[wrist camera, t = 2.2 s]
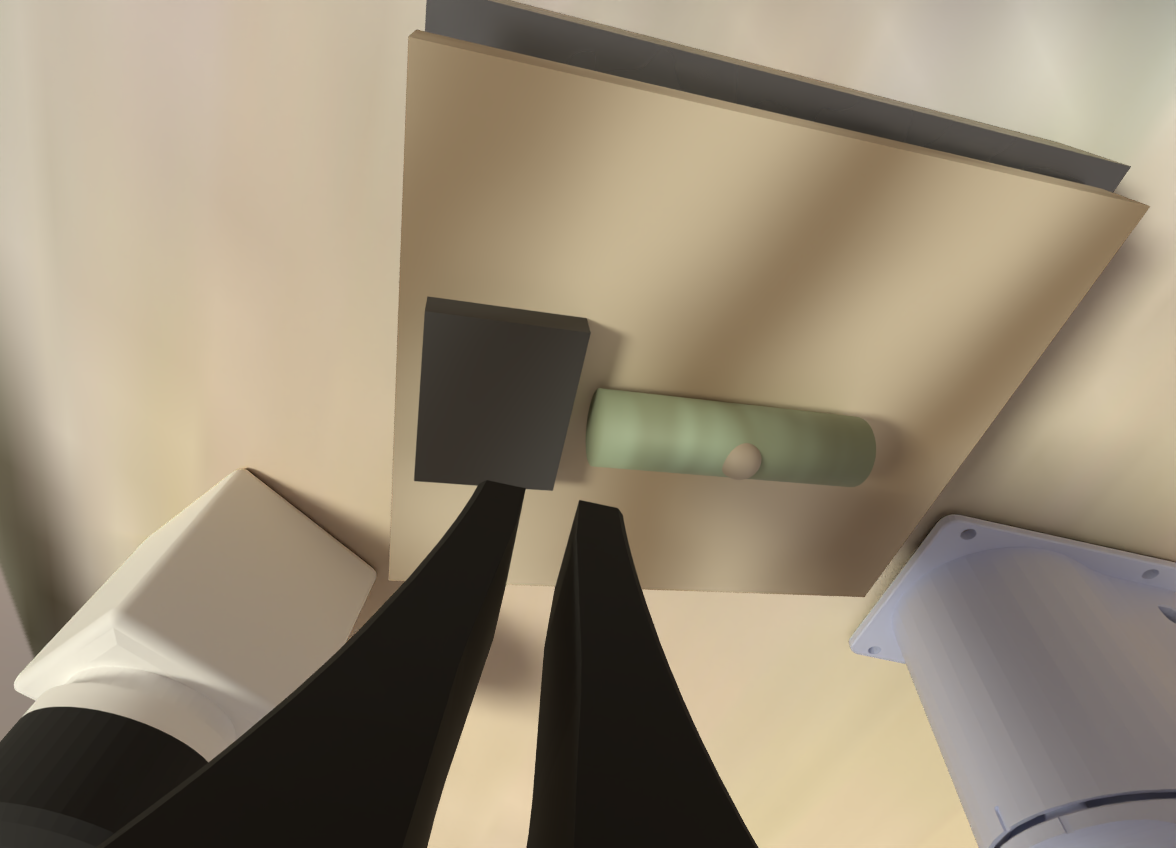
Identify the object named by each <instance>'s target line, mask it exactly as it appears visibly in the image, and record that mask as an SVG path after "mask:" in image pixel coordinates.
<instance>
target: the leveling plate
mask: <svg viewBox="0 0 1176 848" xmlns="http://www.w3.org/2000/svg"><path fill="white" fill-rule="evenodd" d="M1149 207H1150V206H1148V205H1145V204H1142V203H1140V202H1137V201H1134V200H1131V199H1129V198H1126V197H1123V196H1121V195H1118V194H1115V193H1112V192H1110V191H1107V190H1104V189H1101V188H1097V187H1093V186H1088V185H1084V184H1080V183H1076V182H1071V181H1067V180H1063V179H1058V178H1054V177H1050V176H1045V175H1041V174H1037V173H1032V172H1028V171H1024V170H1020V169H1015V168H1011V167H1007V166H1002V165H998V164H994V163H989V162H985V161H981V160H976V159H972V158H968V157H963V156H959V155H955V154H951V153H946V152H942V151H938V150H933V149H929V148H925V147H920V146H916V145H912V144H907V143H903V142H899V141H894V140H890V139H886V138H882V137H877V136H873V135H869V134H864V133H860V132H856V131H851V130H847V129H843V128H838V127H834V126H830V125H826V124H821V123H817V122H813V121H808V120H804V119H800V118H795V117H791V116H787V115H782V114H778V113H774V112H769V111H765V110H761V109H757V108H752V107H748V106H744V105H739V104H735V103H731V102H726V101H722V100H718V99H713V98H709V97H705V96H700V95H696V94H692V93H688V92H683V91H679V90H675V89H670V88H666V87H662V86H657V85H653V84H649V83H644V82H640V81H636V80H632V79H627V78H623V77H619V76H614V75H610V74H606V73H601V72H597V71H593V70H588V69H584V68H580V67H575V66H571V65H567V64H563V63H558V62H554V61H550V60H545V59H541V58H537V57H532V56H528V55H524V54H519V53H515V52H511V51H507V50H502V49H498V48H494V47H489V46H485V45H481V44H476V43H472V42H468V41H463V40H459V39H455V38H450V37H446V36H442V35H438V34H433V33H429V32H425V31H420V30H415V31H414V32H413V33H412V34H411V35H410V36H409V37H408V62H407V89H406V116H405V144H404V171H403V198H402V226H401V253H400V281H399V308H398V335H397V363H396V390H395V417H394V445H393V472H392V499H391V527H390V554H389V581H406V580H407V579H408V578H409V577H410V575H411V574H412V573H413V572H414V571H415V569H416V568H417V567H418V566H419V565H420V563H421V562H422V561H423V560H424V559H425V558H426V556H427V555H428V554H429V553H430V552H431V550H432V549H433V548H434V547H435V546H436V545H437V543H438V542H439V541H440V540H441V538H442V537H443V536H444V534H445V533H446V532H447V530H448V529H449V528H450V527H451V525H452V524H453V523H454V521H455V520H456V518H457V517H458V516H459V514H460V513H461V511H462V510H463V509H464V507H465V506H466V504H467V503H468V501H469V499H470V498H471V496H472V495H473V493H474V491H475V489H476V488H477V486H478V484H480V483H482V482H484V481H486V480H489V481H494V482H499V483H503V484H508V485H513V486H517V487H522V488H526V490H525V495H524V500H523V505H522V510H521V515H520V520H519V524H518V529H517V534H516V539H515V544H514V549H513V554H512V558H511V563H510V568H509V573H508V578H507V582H506V585H531V586H556V582H557V578H558V575H559V571H560V567H561V564H562V560H563V557H564V553H565V549H566V546H567V542H568V539H569V535H570V531H571V528H572V524H573V520H574V517H575V513H576V510H577V506H578V502H579V500H583V501H587V502H592V503H597V504H602V505H606V506H611V507H616V508H618V509H619V510H620V512H621V513H622V514H623V518H624V524H625V529H626V534H627V538H628V542H629V546H630V550H631V554H632V558H633V562H634V565H635V569H636V572H637V575H638V579H639V582H640V586H641V589H648V590H677V591H706V592H735V593H764V594H793V595H822V596H852V597H865V595H866V594H867V593H868V591H869V590H870V589H871V587H872V586H873V585H874V583H875V582H876V580H877V579H878V578H879V576H880V575H881V574H882V572H883V571H884V570H885V568H886V567H887V565H888V564H889V563H890V561H891V560H892V559H893V557H894V556H895V554H896V553H897V552H898V550H899V549H900V548H901V546H902V545H903V544H904V542H905V541H906V539H907V538H908V537H909V535H910V534H911V533H912V531H913V530H914V528H915V527H916V526H917V524H918V523H919V522H920V520H921V519H922V518H923V516H924V515H925V513H926V512H927V511H928V509H929V508H930V507H931V505H932V504H933V503H934V501H935V500H936V498H937V497H938V496H939V494H940V493H941V492H942V490H943V489H944V487H945V486H946V485H947V483H948V482H949V481H950V479H951V478H952V477H953V475H954V474H955V472H956V471H957V470H958V468H959V467H960V466H961V464H962V463H963V462H964V460H965V459H966V457H967V456H968V455H969V453H970V452H971V451H972V449H973V448H974V446H975V445H976V444H977V442H978V441H979V440H980V438H981V437H982V436H983V434H984V433H985V431H986V430H987V429H988V427H989V426H990V425H991V423H992V422H993V420H994V419H995V418H996V416H997V415H998V414H999V412H1000V411H1001V410H1002V408H1003V407H1004V405H1005V404H1006V403H1007V401H1008V400H1009V399H1010V397H1011V396H1012V395H1013V393H1014V392H1015V390H1016V389H1017V388H1018V386H1019V385H1020V384H1021V382H1022V381H1023V379H1024V378H1025V377H1026V375H1027V374H1028V373H1029V371H1030V370H1031V369H1032V367H1033V366H1034V364H1035V363H1036V362H1037V360H1038V359H1039V358H1040V356H1041V355H1042V353H1043V352H1044V351H1045V349H1046V348H1047V347H1048V345H1049V344H1050V343H1051V341H1052V340H1053V338H1054V337H1055V336H1056V334H1057V333H1058V332H1059V330H1060V329H1061V328H1062V326H1063V325H1064V323H1065V322H1066V321H1067V319H1068V318H1069V317H1070V315H1071V314H1072V312H1073V311H1074V310H1075V308H1076V307H1077V306H1078V304H1079V303H1080V302H1081V300H1082V299H1083V297H1084V296H1085V295H1086V293H1087V292H1088V291H1089V289H1090V288H1091V287H1092V285H1093V284H1094V282H1095V281H1096V280H1097V278H1098V277H1099V276H1100V274H1101V273H1102V271H1103V270H1104V269H1105V267H1106V266H1107V265H1108V263H1109V262H1110V261H1111V259H1112V258H1113V256H1114V255H1115V254H1116V252H1117V251H1118V250H1119V248H1120V247H1121V245H1122V244H1123V243H1124V241H1125V240H1126V239H1127V237H1128V236H1129V235H1130V233H1131V232H1132V230H1133V229H1134V228H1135V226H1136V225H1137V224H1138V222H1139V221H1140V220H1141V218H1142V217H1143V215H1144V214H1145V213H1146V211H1147V210H1148V209H1149Z"/></svg>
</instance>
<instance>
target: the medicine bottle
mask: <svg viewBox="0 0 1176 848" xmlns="http://www.w3.org/2000/svg"><path fill="white" fill-rule="evenodd" d="M375 579H376V571H375V570H374V569H373V568H372V567H371V566H370V565H368V564H367V563H366V562H364V561H363V560H362V559H361V558H359V557H358V556H357V555H355V554H354V553H353V552H352V551H350V550H349V549H348V548H346V547H345V546H344V545H343V544H341V543H340V542H339V541H338V540H336V539H335V538H334V537H332V536H331V535H330V534H329V533H327V532H326V531H325V530H323V529H322V528H321V527H320V526H318V525H317V524H316V523H314V522H313V521H312V520H311V519H309V518H308V517H307V516H306V515H304V514H303V513H302V512H300V511H299V510H298V509H297V508H295V507H294V506H293V505H291V504H290V503H289V502H288V501H286V500H285V499H284V498H282V497H281V496H280V495H279V494H277V493H276V492H275V491H273V490H272V489H271V488H270V487H268V486H267V485H266V484H265V483H263V482H262V481H261V480H259V479H258V478H257V477H256V476H254V475H253V474H252V473H250V472H249V471H248V470H246V469H237V470H235V471H233V472H232V473H231V474H229V475H228V476H227V477H225V478H224V479H223V480H221V481H220V482H219V483H218V484H216V485H215V486H214V487H212V488H211V489H210V490H208V491H207V492H206V493H205V494H203V495H202V496H201V497H199V498H198V499H197V500H195V501H194V502H193V503H192V504H190V505H189V506H188V507H186V508H185V509H184V510H183V511H181V512H180V513H179V514H177V515H176V516H175V517H173V518H172V519H171V520H170V521H168V522H167V523H166V524H164V525H163V526H162V527H160V528H159V529H158V530H157V531H155V532H154V533H153V534H151V535H150V536H149V537H147V538H146V539H145V540H144V542H143V543H142V544H141V545H140V546H139V547H138V548H137V549H136V550H135V551H134V552H133V553H132V554H131V555H130V557H129V558H128V559H127V560H126V561H125V562H124V563H123V564H122V565H121V566H120V567H119V568H118V569H117V570H116V571H115V573H114V574H113V575H112V576H111V577H110V578H109V579H108V580H107V581H106V582H105V583H104V584H103V585H102V586H101V587H100V589H99V590H98V591H97V592H96V593H95V594H94V595H93V596H92V597H91V598H90V599H89V600H88V601H87V602H86V604H85V605H84V606H83V607H82V608H81V609H80V610H79V611H78V612H77V613H76V614H75V615H74V616H73V617H72V618H71V620H70V621H69V622H68V623H67V624H66V625H65V626H64V627H63V628H62V629H61V630H60V631H59V632H58V633H57V634H56V636H55V637H54V638H53V639H52V640H51V641H50V642H49V643H48V644H47V645H46V646H45V647H44V648H43V649H42V651H41V652H40V653H39V654H38V655H37V656H36V657H35V658H34V659H33V660H32V661H31V663H29V664H28V665H27V667H26V668H25V669H24V670H23V671H22V672H21V673H20V674H19V675H18V676H17V678H16V680H15V682H14V687H15V690H16V691H18V692H19V693H22V694H23V695H25V696H27V697H29V698H31V699H33V700H35V701H36V702H35V703H34V704H33V705H32V706H31V707H30V709H28V711H27V712H26V713H25V714H24V715H23V716H22V717H21V719H20V720H19V721H18V722H17V723H16V724H15V725H14V727H13V728H12V729H11V730H10V731H9V732H8V734H7V735H6V736H5V737H4V738H3V739H2V740H1V742H0V848H95V847H97V846H98V845H100V844H101V843H102V842H104V841H105V840H106V839H108V838H109V837H110V836H112V835H113V834H114V833H116V832H117V831H118V830H120V829H121V828H122V827H124V826H125V825H126V824H128V823H129V822H130V821H132V820H133V819H134V818H136V817H137V816H138V815H140V814H141V813H142V812H144V811H145V810H146V809H148V808H149V807H150V806H152V805H153V804H154V803H156V802H157V801H158V800H160V799H161V798H162V797H164V796H165V795H166V794H168V793H169V792H170V791H172V790H173V789H174V788H176V787H177V786H178V785H180V784H181V783H182V782H184V781H185V780H186V779H187V778H189V777H190V776H191V775H193V774H194V773H195V772H197V771H198V770H199V769H201V768H202V767H203V766H204V765H206V764H207V763H208V762H210V761H211V760H212V759H213V758H215V757H216V756H217V755H218V754H220V753H221V752H222V751H223V750H225V749H226V748H227V747H228V746H229V745H231V744H232V743H233V742H234V741H236V740H237V739H238V738H239V737H241V736H242V735H243V734H244V733H245V732H246V731H248V730H249V729H250V728H251V727H252V726H254V725H255V724H256V723H257V722H258V721H259V720H261V719H262V718H263V717H264V716H265V715H267V714H268V713H269V712H270V711H271V710H272V709H274V708H275V707H276V706H277V705H278V704H280V703H281V702H282V701H283V700H284V699H285V698H287V697H288V696H289V695H290V694H291V693H292V692H294V691H295V690H296V689H297V688H298V687H299V686H300V685H301V684H302V683H304V682H305V681H306V680H307V679H308V678H309V677H310V676H311V675H312V674H313V673H315V672H316V671H317V670H318V669H319V668H320V667H321V666H322V665H323V664H324V663H325V662H327V661H328V660H329V659H330V658H331V657H332V656H333V655H334V654H335V653H336V652H337V651H338V650H339V649H340V648H341V647H342V646H343V645H344V644H345V643H346V641H347V639H348V637H349V635H350V633H351V630H352V628H353V626H354V624H355V622H356V620H357V618H358V616H359V613H360V611H361V609H362V607H363V605H364V603H365V601H366V599H367V596H368V594H369V592H370V590H371V588H372V586H373V584H374V582H375Z"/></svg>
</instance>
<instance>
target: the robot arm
mask: <svg viewBox="0 0 1176 848" xmlns="http://www.w3.org/2000/svg"><path fill="white" fill-rule="evenodd" d="M525 490H526V488H522V487H517V486H513V485H508V484H503V483H499V482H494V481H489V480H486V481H484V482H482V483H480V484H478V486H477V488H476V489H475V491H474V493H473V495H472V496H471V498H470V499H469V501H468V503H467V504H466V506H465V507H464V509H463V510H462V511H461V513H460V514H459V516H458V517H457V518H456V520H455V521H454V523H453V524H452V525H451V527H450V528H449V529H448V530H447V532H446V533H445V534H444V536H443V537H442V538H441V540H440V541H439V542H438V543H437V545H436V546H435V547H434V548H433V549H432V550H431V552H430V553H429V554H428V555H427V556H426V558H425V559H424V560H423V561H422V562H421V563H420V565H419V566H418V567H417V568H416V569H415V571H414V572H413V573H412V574H411V575H410V577H409V578H408V579H407V580H406V581H405V582H404V583H403V584H402V585H401V587H400V588H399V589H398V590H397V591H396V592H395V593H394V594H393V595H392V596H391V597H390V598H389V599H388V600H387V601H386V602H385V603H384V605H383V606H382V607H381V608H380V609H379V610H378V611H377V612H376V613H375V614H374V615H373V616H372V617H371V618H370V619H369V620H368V621H367V622H366V623H365V624H364V626H363V627H362V628H361V629H360V630H359V631H358V632H357V633H356V634H355V635H354V636H353V637H352V638H351V639H349V640H348V641H347V642H346V643H345V644H344V645H343V646H342V647H341V648H340V649H339V650H338V651H337V652H336V653H335V654H334V655H333V656H332V657H331V658H330V659H329V660H328V661H327V662H325V663H324V664H323V665H322V666H321V667H320V668H319V669H318V670H317V671H316V672H315V673H313V674H312V675H311V676H310V677H309V678H308V679H307V680H306V681H305V682H304V683H302V684H301V685H300V686H299V687H298V688H297V689H296V690H295V691H294V692H292V693H291V694H290V695H289V696H288V697H287V698H285V699H284V700H283V701H282V702H281V703H280V704H278V705H277V706H276V707H275V708H274V709H272V710H271V711H270V712H269V713H268V714H267V715H265V716H264V717H263V718H262V719H261V720H259V721H258V722H257V723H256V724H255V725H254V726H252V727H251V728H250V729H249V730H248V731H246V732H245V733H244V734H243V735H242V736H241V737H239V738H238V739H237V740H236V741H234V742H233V743H232V744H231V745H229V746H228V747H227V748H226V749H225V750H223V751H222V752H221V753H220V754H218V755H217V756H216V757H215V758H213V759H212V760H211V761H210V762H208V763H207V764H206V765H204V766H203V767H202V768H201V769H199V770H198V771H197V772H195V773H194V774H193V775H191V776H190V777H189V778H187V779H186V780H185V781H184V782H182V783H181V784H180V785H178V786H177V787H176V788H174V789H173V790H172V791H170V792H169V793H168V794H166V795H165V796H164V797H162V798H161V799H160V800H158V801H157V802H156V803H154V804H153V805H152V806H150V807H149V808H148V809H146V810H145V811H144V812H142V813H141V814H140V815H138V816H137V817H136V818H134V819H133V820H132V821H130V822H129V823H128V824H126V825H125V826H124V827H122V828H121V829H120V830H118V831H117V832H116V833H114V834H113V835H112V836H110V837H109V838H108V839H106V840H105V841H104V842H102V843H101V844H100V845H98V846H97V847H95V848H427V846H428V842H429V838H430V834H431V830H432V826H433V822H434V818H435V814H436V811H437V807H438V804H439V801H440V797H441V794H442V791H443V787H444V784H445V781H446V778H447V775H448V772H449V769H450V766H451V763H452V760H453V757H454V754H455V751H456V748H457V745H458V742H459V739H460V736H461V733H462V730H463V727H464V724H465V721H466V718H467V715H468V712H469V709H470V706H471V703H472V700H473V697H474V694H475V692H476V689H477V686H478V683H479V680H480V677H481V674H482V671H483V668H484V665H485V662H486V659H487V656H488V653H489V650H490V647H491V644H492V641H493V638H494V633H495V629H496V625H497V621H498V616H499V612H500V608H501V604H502V599H503V595H504V591H505V586H506V582H507V578H508V573H509V568H510V563H511V558H512V554H513V549H514V544H515V539H516V534H517V529H518V524H519V520H520V515H521V510H522V505H523V500H524V495H525ZM967 529H969V530H968V531H965V532H963V531H964V530H967ZM849 645H850V648H851V650H852V651H853V652H854V653H856V654H860V655H865V656H870V657H875V658H879V659H884V660H889V661H894V662H899V663H904V664H906V665H907V668H908V670H909V673H910V675H911V678H912V680H913V683H914V685H915V688H916V690H917V693H918V695H919V698H920V701H921V703H922V706H923V708H924V711H925V713H926V716H927V718H928V721H929V723H930V726H931V728H932V731H933V733H934V736H935V738H936V741H937V744H938V746H939V749H940V751H941V754H942V756H943V759H944V761H945V764H946V766H947V769H948V771H949V774H950V776H951V779H952V781H953V784H954V786H955V789H956V792H957V794H958V797H959V799H960V802H961V804H962V807H963V809H964V812H965V814H966V817H967V819H968V822H969V824H970V827H971V829H972V832H973V835H974V837H975V840H976V842H977V845H978V847H979V848H1176V562H1171V561H1166V560H1162V559H1157V558H1153V557H1148V556H1144V555H1139V554H1135V553H1130V552H1126V551H1121V550H1117V549H1112V548H1107V547H1103V546H1098V545H1094V544H1089V543H1085V542H1080V541H1076V540H1071V539H1067V538H1062V537H1058V536H1053V535H1049V534H1044V533H1039V532H1035V531H1030V530H1026V529H1021V528H1017V527H1012V526H1008V525H1003V524H999V523H994V522H990V521H985V520H980V519H976V518H971V517H967V516H962V515H955V514H952V515H947V516H945V517H943V518H941V519H940V520H939V521H938V522H937V524H936V525H935V526H934V528H933V529H932V530H931V532H930V533H929V534H928V536H927V537H926V538H925V540H924V541H923V542H922V544H921V545H920V546H919V548H918V549H917V550H916V551H915V553H914V554H913V555H912V557H911V558H910V559H909V561H908V562H907V563H906V565H905V566H904V567H903V569H902V570H901V571H900V573H899V574H898V575H897V577H896V578H895V579H894V581H893V582H892V583H891V585H890V586H889V587H888V589H887V590H886V591H885V592H884V594H883V595H882V596H881V598H880V599H879V600H878V602H877V603H876V604H875V606H874V607H873V608H872V610H871V611H870V612H869V614H868V615H867V616H866V618H865V619H864V620H863V622H862V623H861V624H860V626H859V627H858V628H857V630H856V631H855V632H854V634H853V635H852V636H851V637H850V639H849ZM527 848H758V846H757V844H756V843H755V841H754V839H753V838H752V836H751V834H750V832H749V831H748V829H747V827H746V825H745V823H744V822H743V820H742V818H741V816H740V814H739V812H738V810H737V808H736V806H735V805H734V803H733V801H732V799H731V797H730V795H729V793H728V791H727V790H726V788H725V786H724V784H723V782H722V780H721V778H720V776H719V774H718V772H717V770H716V768H715V766H714V764H713V762H712V760H711V758H710V756H709V754H708V752H707V750H706V748H705V746H704V744H703V742H702V740H701V738H700V736H699V733H698V731H697V729H696V727H695V725H694V723H693V720H692V718H691V716H690V714H689V711H688V709H687V707H686V705H685V702H684V700H683V698H682V695H681V693H680V691H679V688H678V686H677V683H676V681H675V679H674V676H673V674H672V672H671V669H670V667H669V664H668V662H667V659H666V657H665V654H664V651H663V649H662V646H661V644H660V641H659V638H658V635H657V632H656V630H655V627H654V624H653V621H652V618H651V615H650V613H649V610H648V607H647V604H646V601H645V598H644V595H643V592H642V589H641V586H640V582H639V579H638V575H637V572H636V569H635V565H634V562H633V558H632V554H631V550H630V546H629V542H628V538H627V534H626V529H625V524H624V518H623V514H622V513H621V512H620V510H619V509H618V508H616V507H611V506H606V505H602V504H597V503H592V502H587V501H583V500H579V502H578V506H577V510H576V513H575V517H574V520H573V524H572V528H571V531H570V535H569V539H568V542H567V546H566V549H565V553H564V557H563V560H562V564H561V567H560V571H559V575H558V578H557V582H556V586H555V591H554V596H553V602H552V607H551V613H550V618H549V624H548V630H547V636H546V641H545V647H544V658H543V671H542V683H541V696H540V709H539V722H538V736H537V749H536V762H535V775H534V788H533V800H532V809H531V818H530V827H529V835H528V841H527Z"/></svg>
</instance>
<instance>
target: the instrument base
mask: <svg viewBox="0 0 1176 848" xmlns="http://www.w3.org/2000/svg"><path fill="white" fill-rule="evenodd" d="M425 32H429V33H433V34H438V35H442V36H446V37H450V38H455V39H459V40H463V41H468V42H472V43H476V44H481V45H485V46H489V47H494V48H498V49H502V50H507V51H511V52H515V53H519V54H524V55H528V56H532V57H537V58H541V59H545V60H550V61H554V62H558V63H563V64H567V65H571V66H575V67H580V68H584V69H588V70H593V71H597V72H601V73H606V74H610V75H614V76H619V77H623V78H627V79H632V80H636V81H640V82H644V83H649V84H653V85H657V86H662V87H666V88H670V89H675V90H679V91H683V92H688V93H692V94H696V95H700V96H705V97H709V98H713V99H718V100H722V101H726V102H731V103H735V104H739V105H744V106H748V107H752V108H757V109H761V110H765V111H769V112H774V113H778V114H782V115H787V116H791V117H795V118H800V119H804V120H808V121H813V122H817V123H821V124H826V125H830V126H834V127H838V128H843V129H847V130H851V131H856V132H860V133H864V134H869V135H873V136H877V137H882V138H886V139H890V140H894V141H899V142H903V143H907V144H912V145H916V146H920V147H925V148H929V149H933V150H938V151H942V152H946V153H951V154H955V155H959V156H963V157H968V158H972V159H976V160H981V161H985V162H989V163H994V164H998V165H1002V166H1007V167H1011V168H1015V169H1020V170H1024V171H1028V172H1032V173H1037V174H1041V175H1045V176H1050V177H1054V178H1058V179H1063V180H1067V181H1071V182H1076V183H1080V184H1084V185H1088V186H1093V187H1097V188H1101V189H1104V190H1107V191H1110V192H1112V193H1113V192H1114V190H1115V189H1116V188H1117V186H1118V185H1119V183H1120V182H1121V180H1122V179H1123V177H1124V176H1125V174H1126V173H1127V172H1128V170H1129V169H1130V167H1131V166H1128V165H1125V164H1122V163H1119V162H1116V161H1113V160H1110V159H1107V158H1104V157H1101V156H1098V155H1095V154H1092V153H1089V152H1086V151H1083V150H1080V149H1077V148H1074V147H1071V146H1068V145H1065V144H1062V143H1058V142H1054V141H1050V140H1047V139H1043V138H1039V137H1035V136H1031V135H1027V134H1024V133H1020V132H1016V131H1012V130H1008V129H1004V128H1000V127H997V126H993V125H989V124H985V123H981V122H977V121H973V120H970V119H966V118H962V117H958V116H954V115H950V114H946V113H943V112H939V111H935V110H931V109H927V108H923V107H919V106H916V105H912V104H908V103H904V102H900V101H896V100H892V99H889V98H885V97H881V96H877V95H873V94H869V93H865V92H862V91H858V90H854V89H850V88H846V87H842V86H838V85H835V84H831V83H827V82H823V81H819V80H815V79H811V78H808V77H804V76H800V75H796V74H792V73H788V72H784V71H781V70H777V69H773V68H769V67H765V66H761V65H757V64H754V63H750V62H746V61H742V60H738V59H734V58H730V57H727V56H723V55H719V54H715V53H711V52H707V51H703V50H700V49H696V48H692V47H688V46H684V45H680V44H676V43H673V42H669V41H665V40H661V39H657V38H653V37H649V36H646V35H642V34H638V33H634V32H630V31H626V30H622V29H619V28H615V27H611V26H607V25H603V24H599V23H595V22H592V21H588V20H584V19H580V18H576V17H572V16H568V15H565V14H561V13H557V12H553V11H549V10H545V9H541V8H538V7H534V6H530V5H526V4H522V3H518V2H514V1H511V0H427V4H426V24H425Z"/></svg>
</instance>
